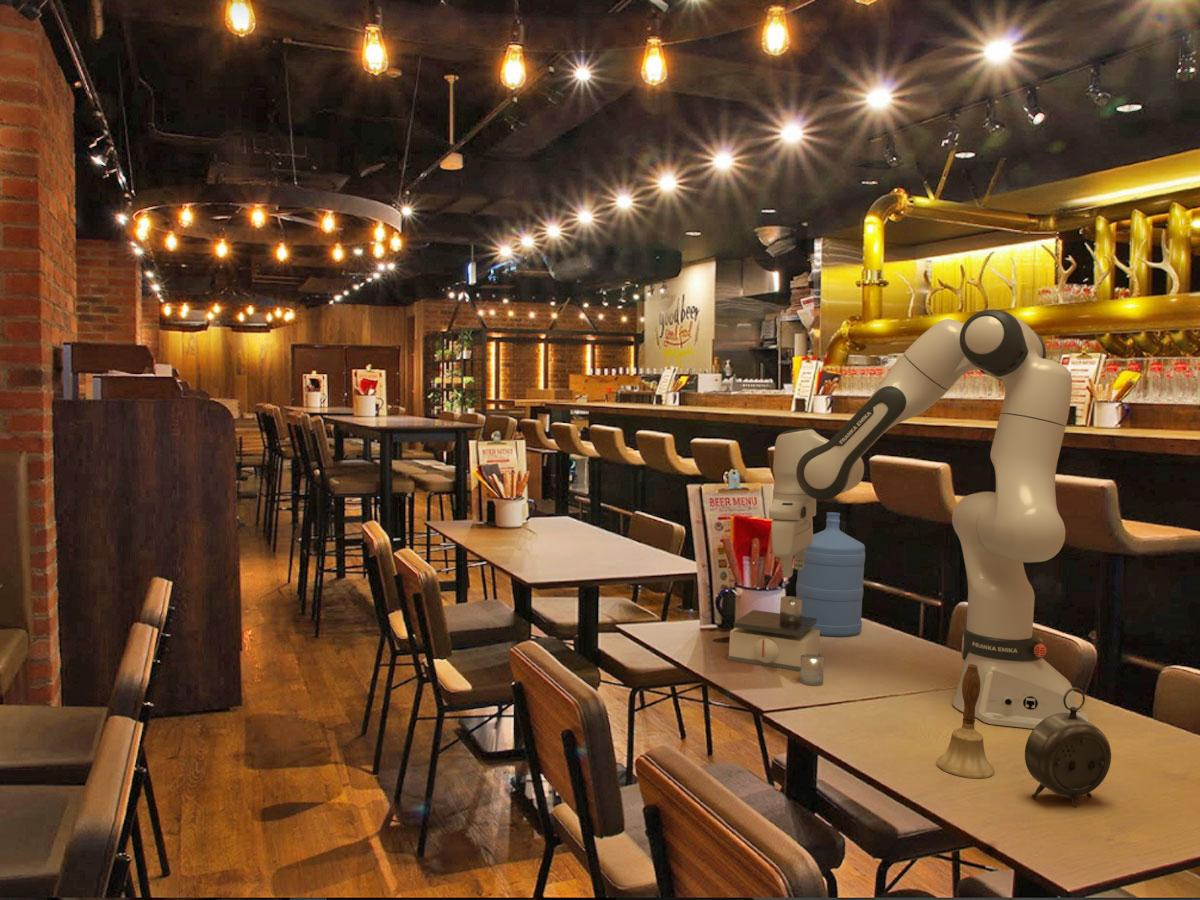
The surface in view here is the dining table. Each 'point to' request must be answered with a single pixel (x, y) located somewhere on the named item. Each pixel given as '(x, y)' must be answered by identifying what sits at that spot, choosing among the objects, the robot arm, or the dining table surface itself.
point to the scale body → (772, 647)
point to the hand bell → (967, 736)
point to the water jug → (833, 581)
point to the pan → (773, 623)
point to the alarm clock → (1067, 754)
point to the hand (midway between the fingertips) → (793, 572)
